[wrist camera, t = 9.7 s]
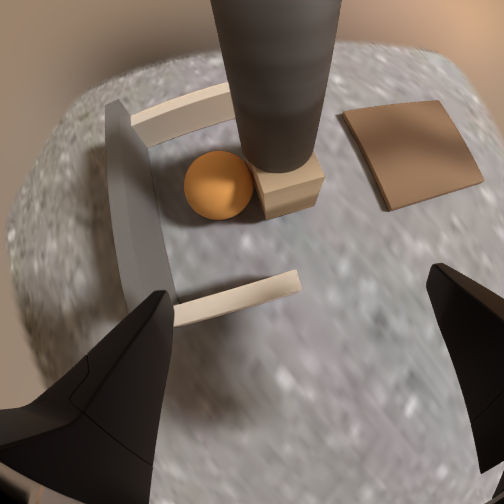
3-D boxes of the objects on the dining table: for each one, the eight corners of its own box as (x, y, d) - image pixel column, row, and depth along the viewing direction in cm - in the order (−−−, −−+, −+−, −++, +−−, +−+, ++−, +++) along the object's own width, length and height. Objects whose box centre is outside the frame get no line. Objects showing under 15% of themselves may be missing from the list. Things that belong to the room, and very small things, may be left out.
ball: (177, 223, 15) (213, 235, 18) (246, 191, 13) (271, 211, 17) (165, 160, 16) (199, 181, 19) (225, 127, 14) (252, 156, 18)
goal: (297, 292, 17) (306, 285, 12) (169, 329, 17) (133, 334, 12) (233, 108, 20) (224, 60, 15) (134, 142, 20) (105, 105, 15)
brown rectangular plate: (481, 183, 17) (484, 180, 17) (389, 211, 17) (391, 209, 17) (436, 103, 19) (438, 100, 18) (342, 115, 19) (343, 111, 19)
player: (318, 204, 17) (385, 13, 4) (261, 221, 17) (231, 25, 4) (290, 138, 18) (299, -49, 5) (238, 152, 18) (193, -35, 5)
